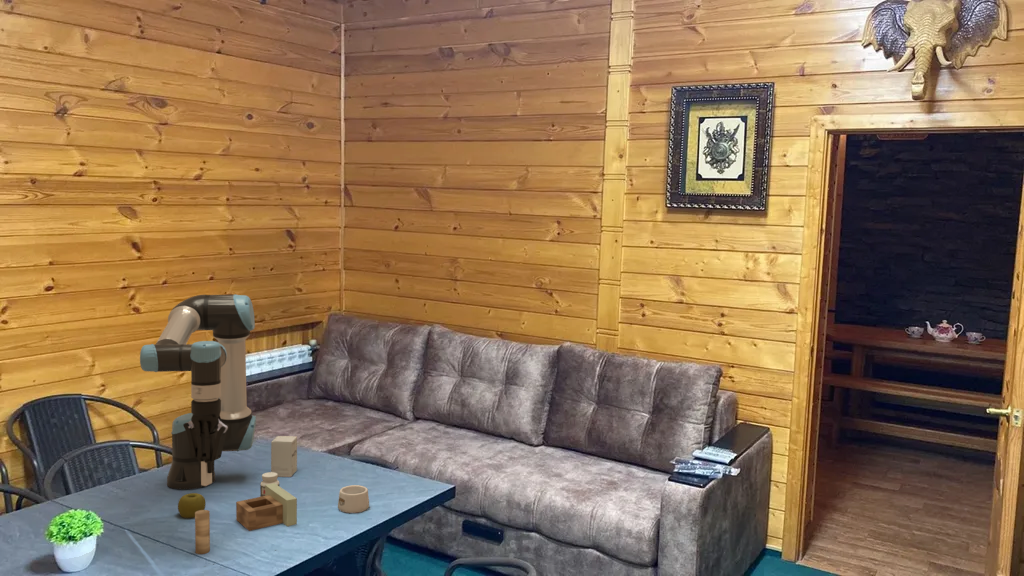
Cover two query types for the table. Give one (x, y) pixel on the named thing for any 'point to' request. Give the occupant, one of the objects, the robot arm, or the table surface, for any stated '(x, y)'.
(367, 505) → the beige pet bowl
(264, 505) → the block
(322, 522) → the table surface
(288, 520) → the board wall
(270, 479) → the pill bottle
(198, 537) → the dowel
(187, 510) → the apple
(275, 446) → the supplement box
